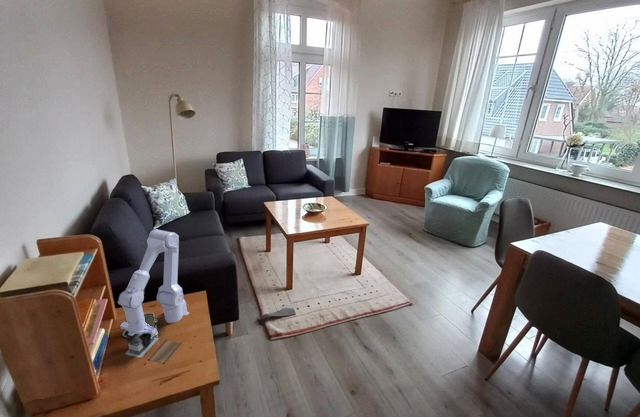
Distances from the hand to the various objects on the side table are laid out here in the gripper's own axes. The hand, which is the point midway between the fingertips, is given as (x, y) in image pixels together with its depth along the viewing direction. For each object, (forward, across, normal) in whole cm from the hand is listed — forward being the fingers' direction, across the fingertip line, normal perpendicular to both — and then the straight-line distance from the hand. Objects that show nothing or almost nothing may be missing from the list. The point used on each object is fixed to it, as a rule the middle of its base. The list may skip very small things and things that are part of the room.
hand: (142, 344), depth 123 cm
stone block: (+3, -8, +8) cm, 12 cm away
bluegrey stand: (+2, 0, 0) cm, 2 cm away
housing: (+1, 0, 0) cm, 1 cm away
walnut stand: (+2, +10, 0) cm, 11 cm away
